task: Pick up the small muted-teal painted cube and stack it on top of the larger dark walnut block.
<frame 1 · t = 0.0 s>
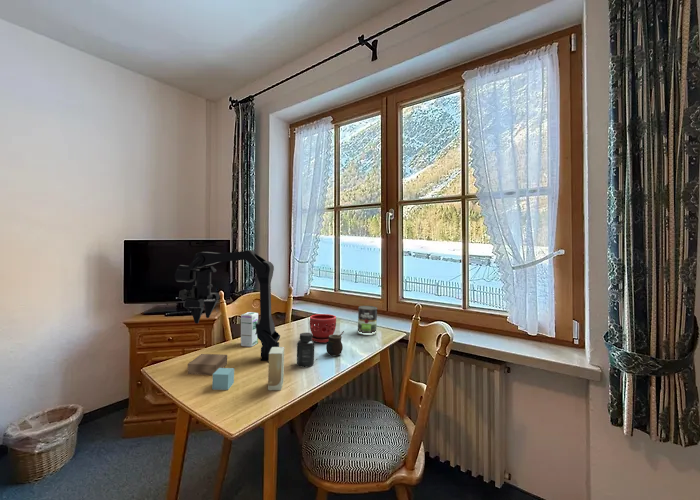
hand: (202, 320, 125), 15 cm above the table, tool pointing down, fingers open, 9 cm apart
skincare box: (275, 386, 101), on the table
walnut block: (208, 369, 113), on the table
syrup box: (249, 344, 141), on the table
supplement bottle: (305, 364, 120), on the table
coffee can: (367, 333, 165), on the table
teal cube: (223, 386, 100), on the table
plant pot: (322, 340, 151), on the table
mate gourd: (334, 354, 132), on the table
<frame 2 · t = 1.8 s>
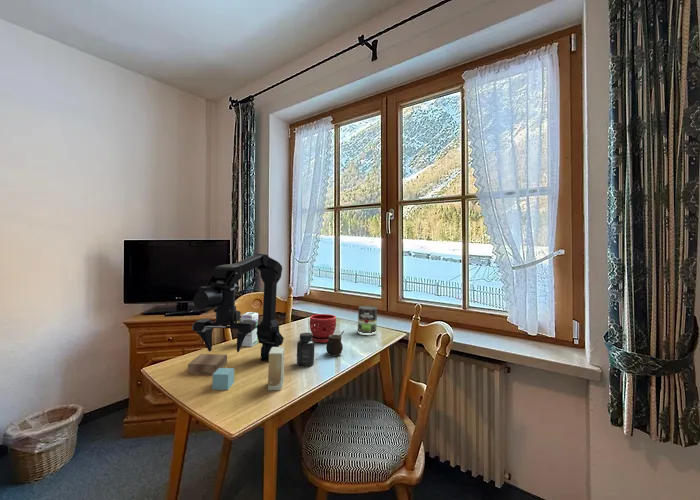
hand: (224, 351, 100), 11 cm above the table, tool pointing down, fingers open, 9 cm apart
nothing on the table moved.
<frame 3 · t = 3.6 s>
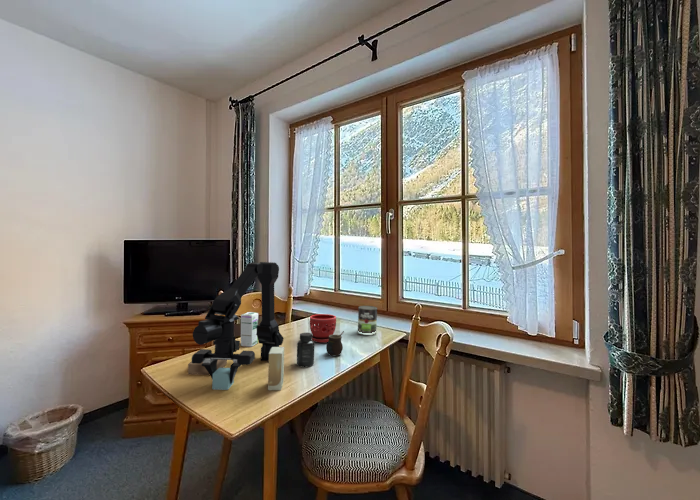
hand: (223, 382, 100), 1 cm above the table, tool pointing down, fingers closed on teal cube, 5 cm apart
teal cube: (223, 385, 100), on the table, touching gripper
everything else where it was.
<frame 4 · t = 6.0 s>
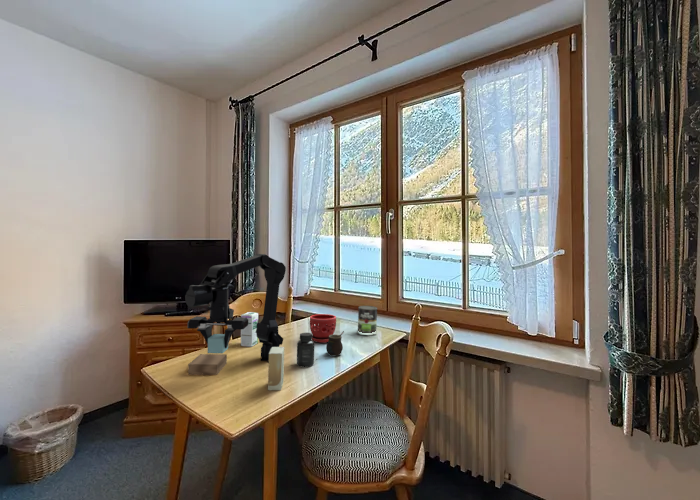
hand: (218, 347, 105), 11 cm above the table, tool pointing down, fingers closed on teal cube, 5 cm apart
teal cube: (218, 350, 105), point 10 cm above the table, touching gripper
everything else where it was.
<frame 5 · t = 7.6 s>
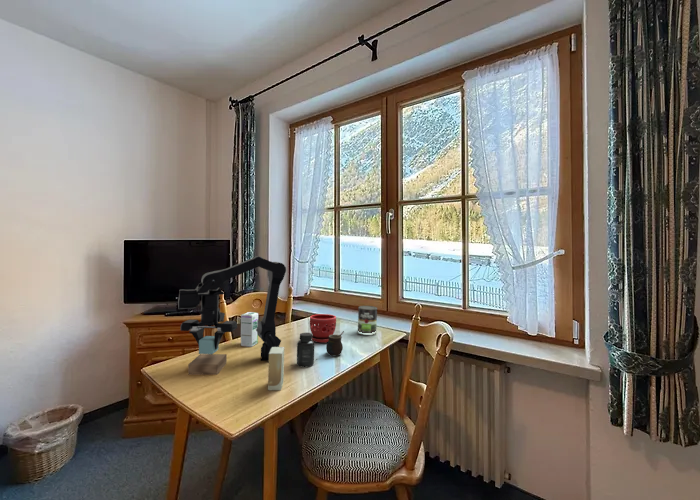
hand: (208, 348, 113), 7 cm above the table, tool pointing down, fingers closed on teal cube, 5 cm apart
teal cube: (208, 351, 113), point 6 cm above the table, touching gripper
everything else where it was.
when the fingers open (6 cm above the table, at t = 8.7 s): teal cube drops 1 cm, resting on walnut block.
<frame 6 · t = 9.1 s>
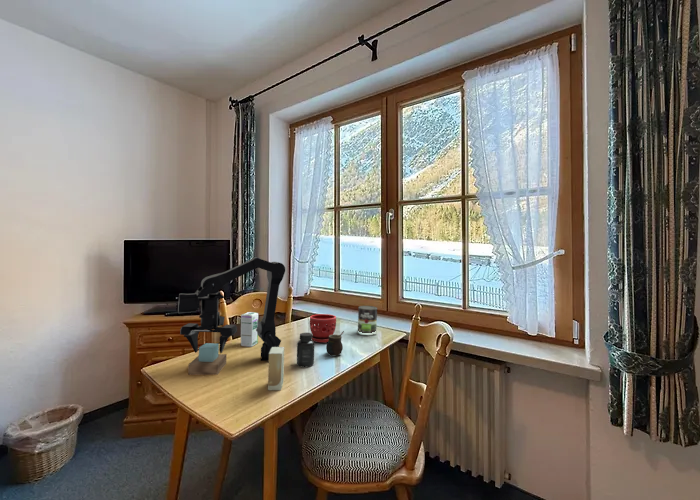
hand: (208, 352, 113), 6 cm above the table, tool pointing down, fingers open, 9 cm apart
walnut block: (208, 369, 113), on the table, touching teal cube
teal cube: (208, 359, 113), point 4 cm above the table, touching walnut block
everything else where it was.
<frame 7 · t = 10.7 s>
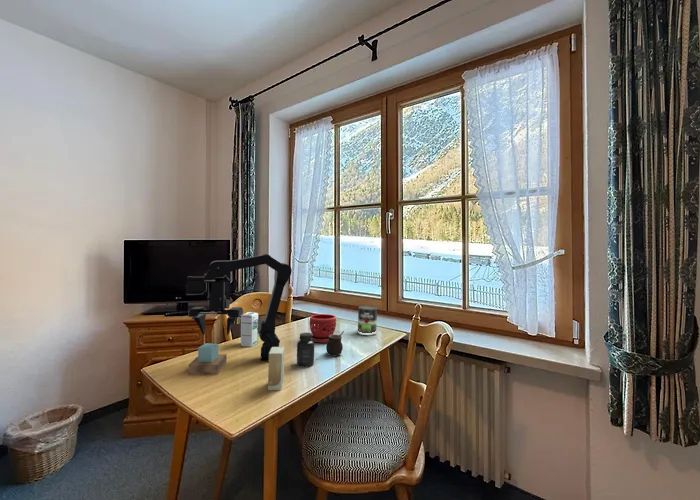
hand: (216, 334, 116), 12 cm above the table, tool pointing down, fingers open, 9 cm apart
nothing on the table moved.
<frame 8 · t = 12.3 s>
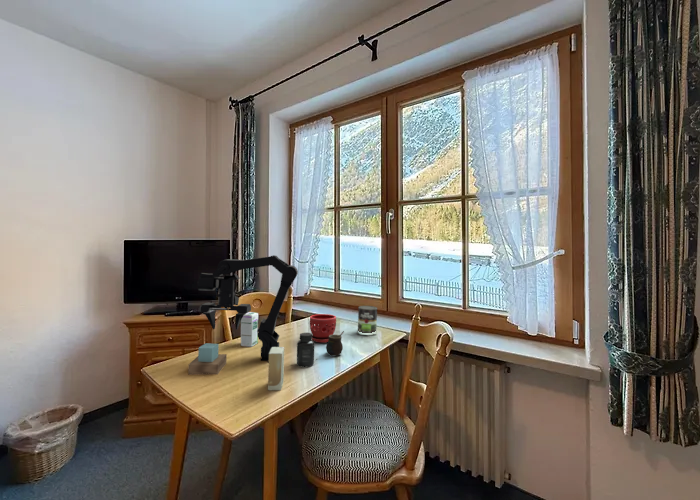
hand: (225, 329, 123), 12 cm above the table, tool pointing down, fingers open, 9 cm apart
nothing on the table moved.
at the end: teal cube 0.1 cm off-centre on the walnut block, point 4.0 cm above the walnut block's base; teal cube tilted 0°; the gripper is holding nothing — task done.
